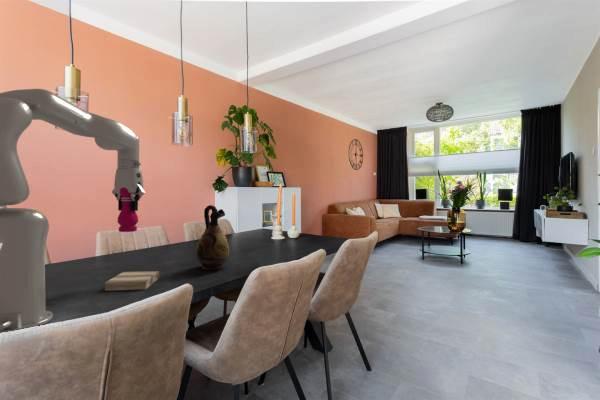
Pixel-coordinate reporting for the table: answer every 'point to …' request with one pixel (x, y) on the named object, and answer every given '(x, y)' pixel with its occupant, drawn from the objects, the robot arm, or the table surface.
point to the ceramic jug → (212, 241)
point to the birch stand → (132, 280)
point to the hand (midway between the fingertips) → (128, 210)
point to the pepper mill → (127, 213)
